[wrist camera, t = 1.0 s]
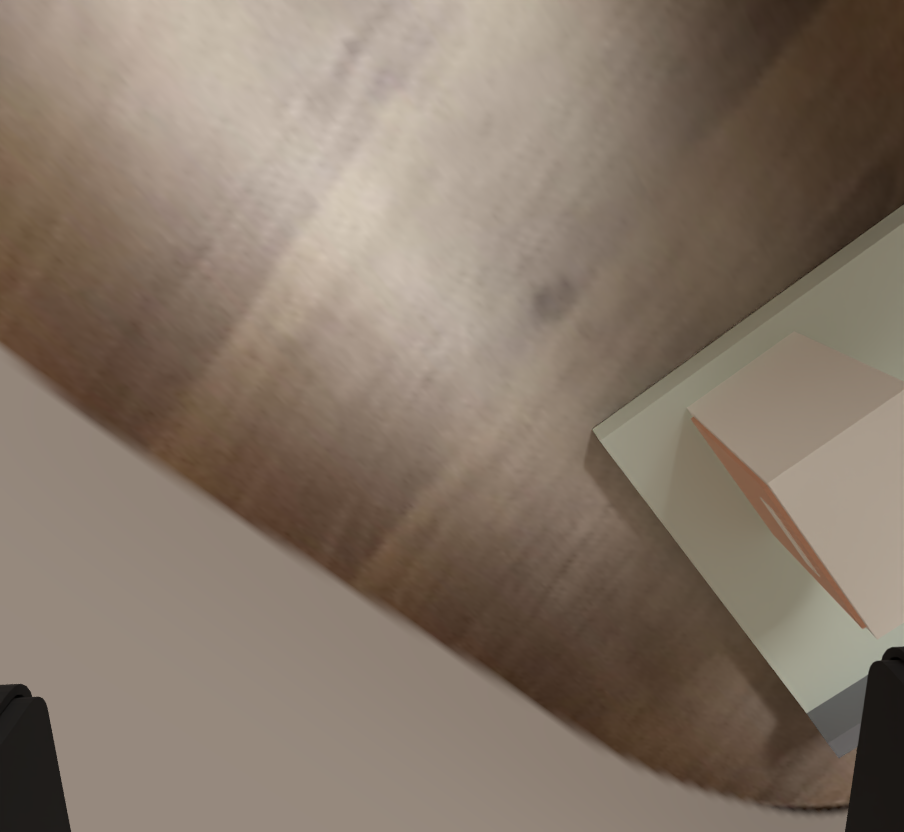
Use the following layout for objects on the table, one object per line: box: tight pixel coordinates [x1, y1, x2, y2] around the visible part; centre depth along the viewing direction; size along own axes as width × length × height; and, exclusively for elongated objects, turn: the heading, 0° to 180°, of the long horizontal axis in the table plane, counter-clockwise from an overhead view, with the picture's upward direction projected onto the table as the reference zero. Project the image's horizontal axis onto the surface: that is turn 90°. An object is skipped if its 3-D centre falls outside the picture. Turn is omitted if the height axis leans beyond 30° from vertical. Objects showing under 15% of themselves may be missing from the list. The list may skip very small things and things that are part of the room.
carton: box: [687, 331, 904, 639], centre depth 30 cm, size 5×7×8 cm
